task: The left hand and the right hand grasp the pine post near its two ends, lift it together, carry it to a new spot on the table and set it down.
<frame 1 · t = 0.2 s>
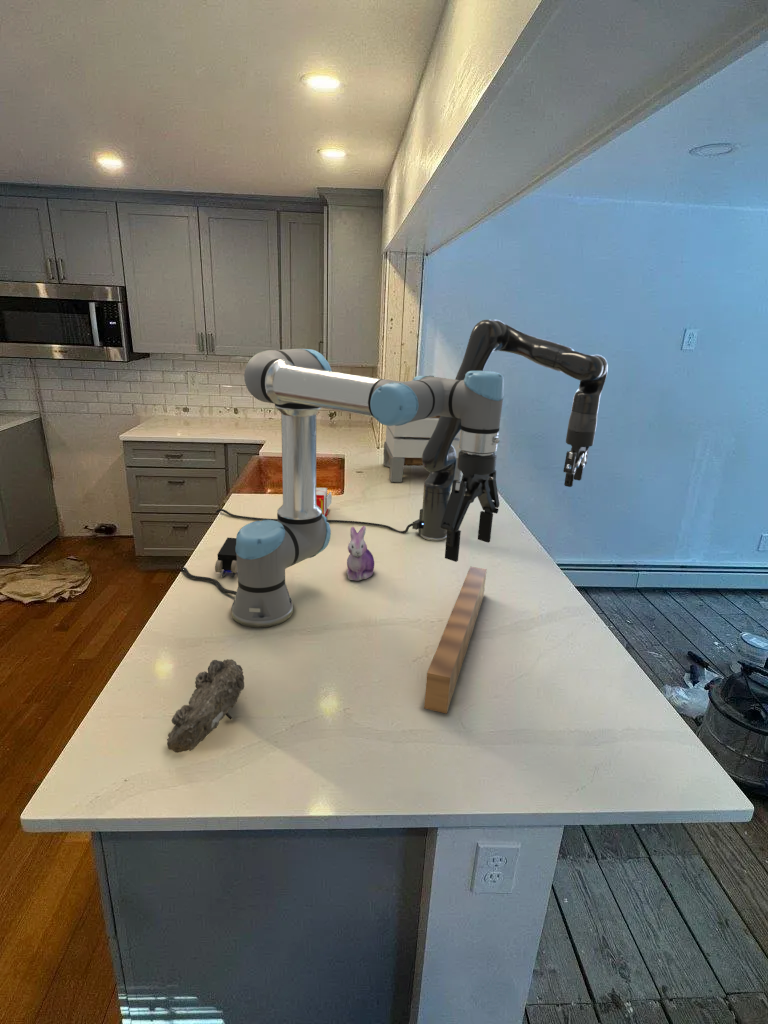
left hand: (468, 549, 120), 28 cm above the counter, tool pointing down, fingers open, 13 cm apart
right hand: (572, 483, 165), 29 cm above the counter, tool pointing down, fingers open, 8 cm apart
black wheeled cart: (232, 569, 168), on the counter
grey stacking crate: (419, 473, 275), on the counter
fossil: (212, 717, 108), on the counter
toy: (313, 519, 209), on the counter
figurine: (359, 575, 168), on the counter
post: (458, 643, 136), on the counter
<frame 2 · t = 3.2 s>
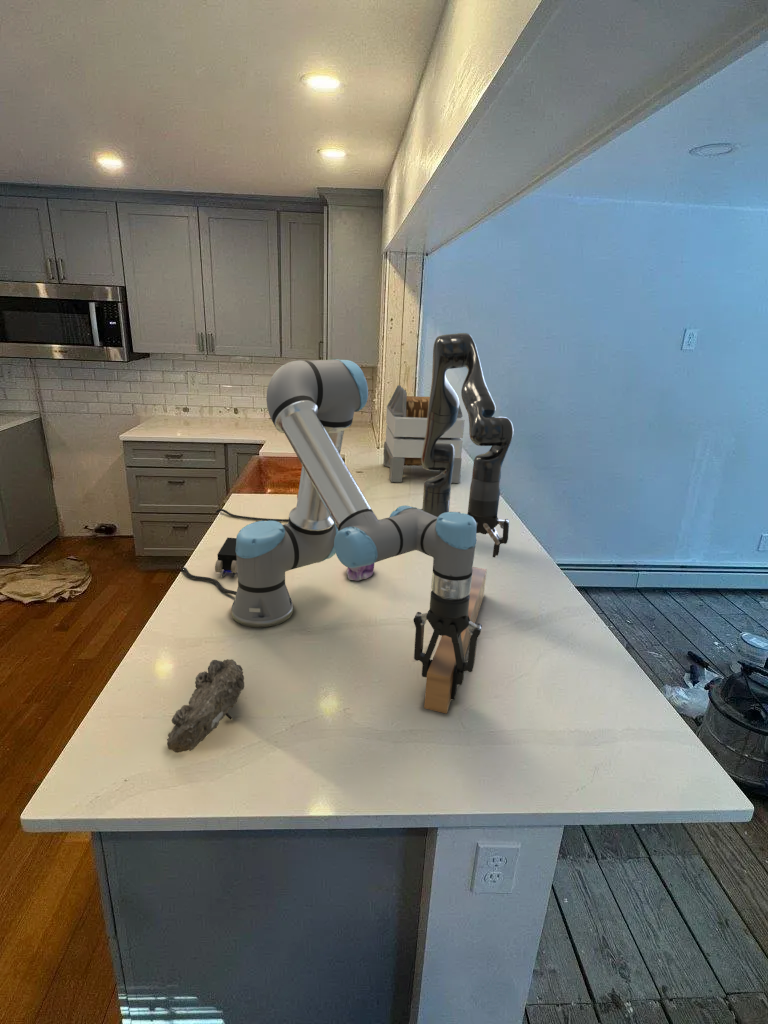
left hand: (441, 692, 117), 1 cm above the counter, tool pointing down, fingers closed on post, 5 cm apart
right hand: (478, 553, 149), 15 cm above the counter, tool pointing down, fingers open, 8 cm apart
post: (458, 643, 136), on the counter, touching left hand
everything else where it was.
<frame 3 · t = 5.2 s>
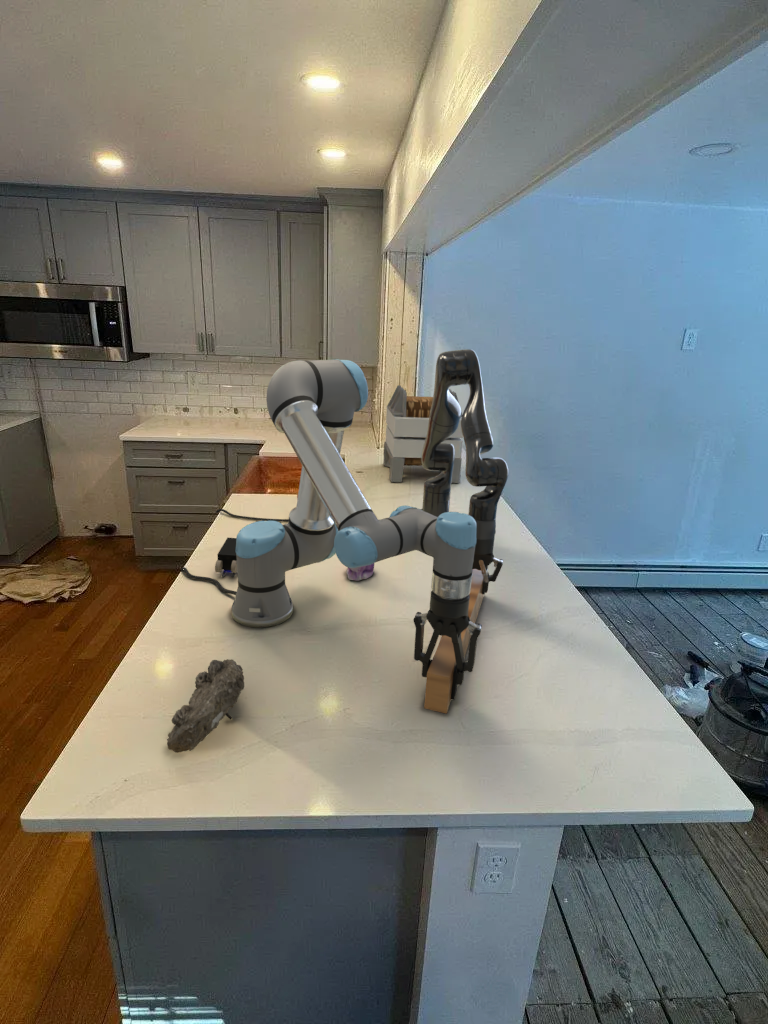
left hand: (441, 692, 117), 1 cm above the counter, tool pointing down, fingers closed on post, 5 cm apart
right hand: (473, 591, 153), 4 cm above the counter, tool pointing down, fingers closed on post, 4 cm apart
post: (458, 643, 136), on the counter, touching right hand, left hand
everything else where it was.
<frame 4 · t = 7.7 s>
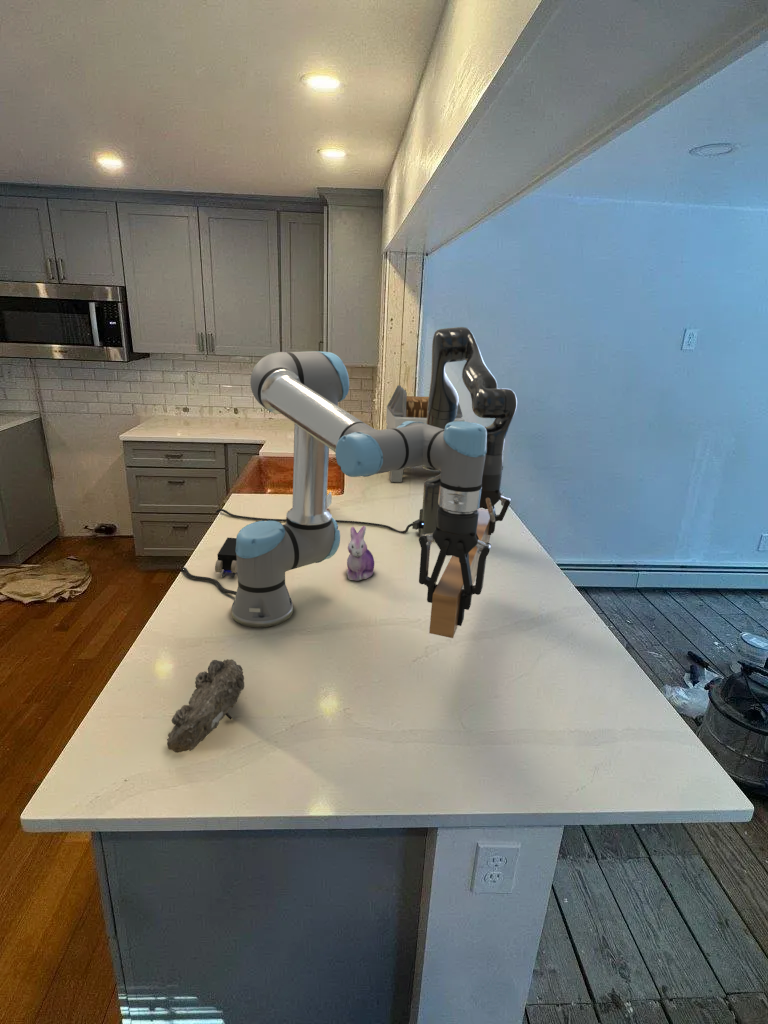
left hand: (447, 619, 111), 18 cm above the counter, tool pointing down, fingers closed on post, 5 cm apart
right hand: (479, 532, 147), 21 cm above the counter, tool pointing down, fingers closed on post, 4 cm apart
post: (464, 578, 130), point 17 cm above the counter, touching right hand, left hand
everything else where it was.
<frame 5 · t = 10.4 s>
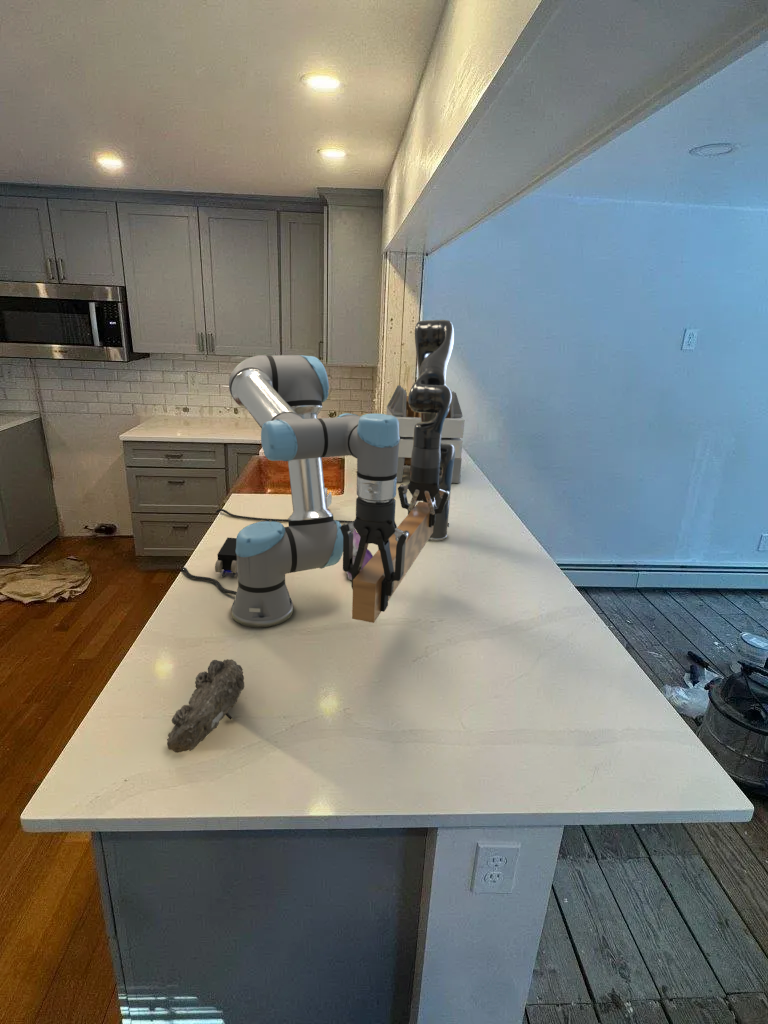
left hand: (371, 605, 115), 18 cm above the counter, tool pointing down, fingers closed on post, 5 cm apart
right hand: (421, 524, 151), 21 cm above the counter, tool pointing down, fingers closed on post, 4 cm apart
post: (399, 568, 134), point 17 cm above the counter, touching right hand, left hand
everything else where it was.
when the left hand's fingers open (2 cm above the counter, at t = 12.5 s): post drops 1 cm, on the counter.
when the right hand's fingers open (5 cm above the counter, at t = 12.7 s): post stays where it is, on the counter.
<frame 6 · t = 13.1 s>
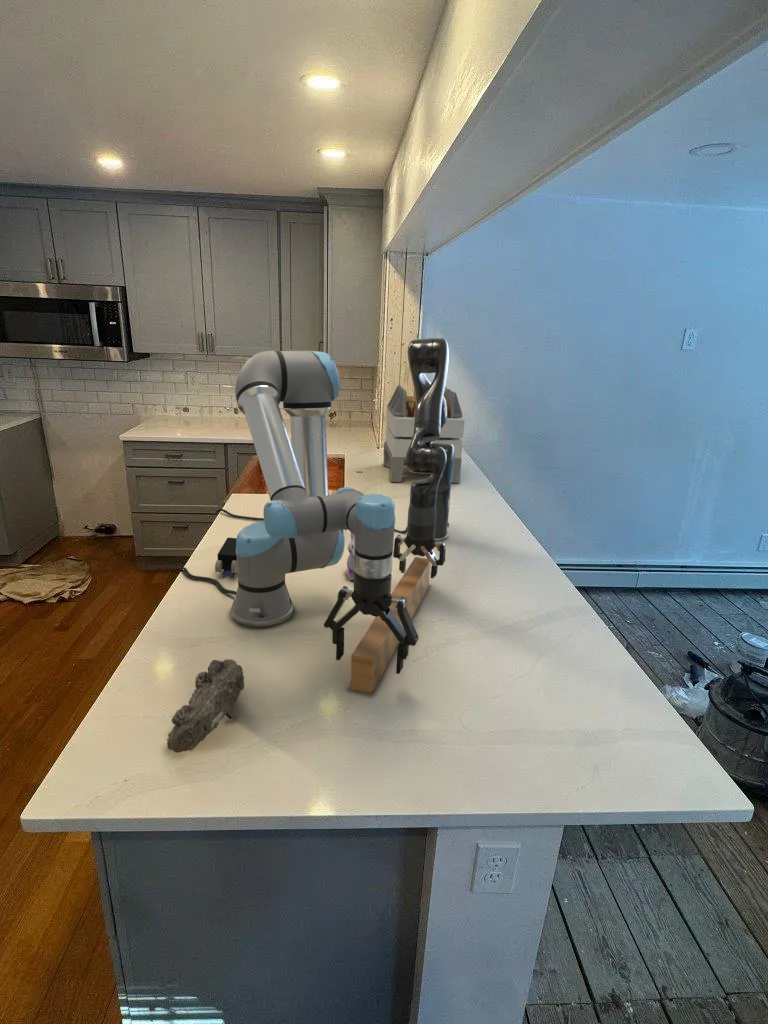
left hand: (369, 663, 120), 4 cm above the counter, tool pointing down, fingers open, 13 cm apart
right hand: (417, 574, 156), 6 cm above the counter, tool pointing down, fingers open, 8 cm apart
post: (396, 629, 140), on the counter
everything else where it was.
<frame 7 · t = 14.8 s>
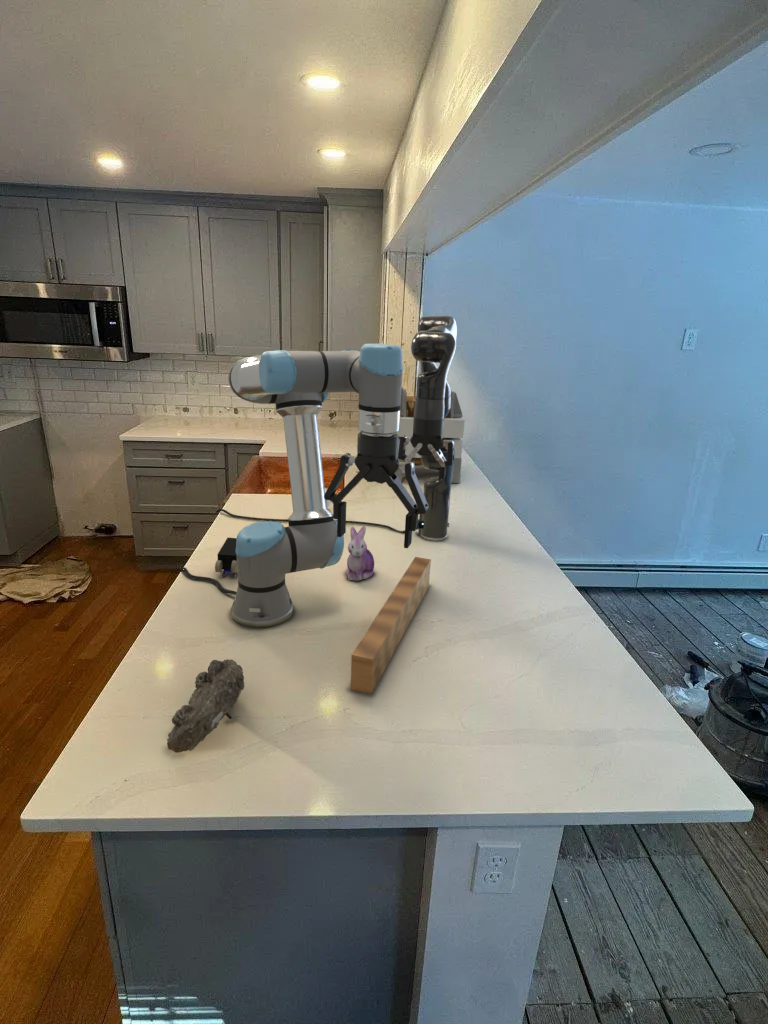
left hand: (373, 540, 110), 32 cm above the counter, tool pointing down, fingers open, 13 cm apart
right hand: (424, 478, 147), 34 cm above the counter, tool pointing down, fingers open, 8 cm apart
nothing on the counter moved.
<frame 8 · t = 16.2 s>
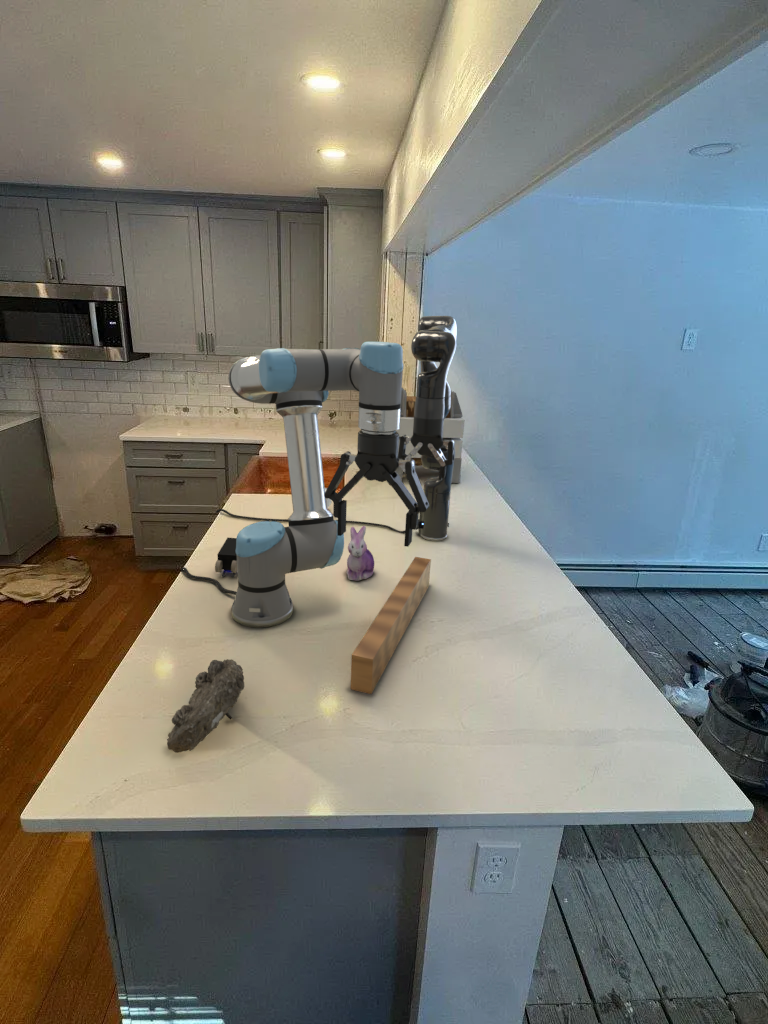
left hand: (374, 538, 110), 32 cm above the counter, tool pointing down, fingers open, 13 cm apart
right hand: (424, 477, 147), 34 cm above the counter, tool pointing down, fingers open, 8 cm apart
nothing on the counter moved.
at the end: post inside the target area (0.7 cm from its centre), on the counter; post tilted 0°; post never tilted more than 2° during the clip; both hands held the post at the same time; the left hand is holding nothing; the right hand is holding nothing; post at rest at the end (0.0 cm/s) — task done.
